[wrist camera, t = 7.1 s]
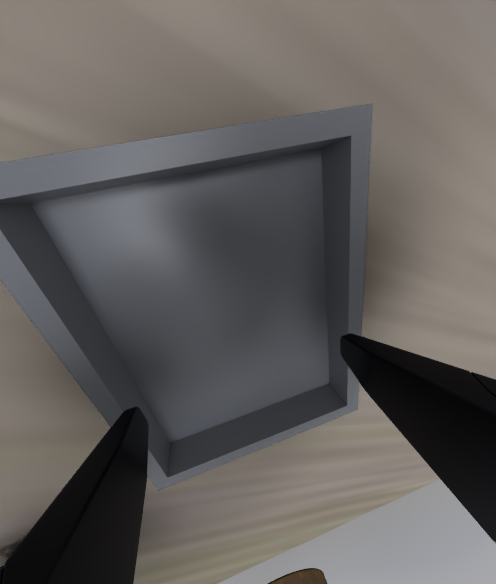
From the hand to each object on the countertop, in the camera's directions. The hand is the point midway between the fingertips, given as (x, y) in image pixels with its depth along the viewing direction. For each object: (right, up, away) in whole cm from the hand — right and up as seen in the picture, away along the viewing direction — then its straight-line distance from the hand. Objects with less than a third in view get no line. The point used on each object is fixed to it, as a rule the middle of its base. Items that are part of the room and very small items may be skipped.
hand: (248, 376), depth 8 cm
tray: (-1, +2, +4) cm, 4 cm away
